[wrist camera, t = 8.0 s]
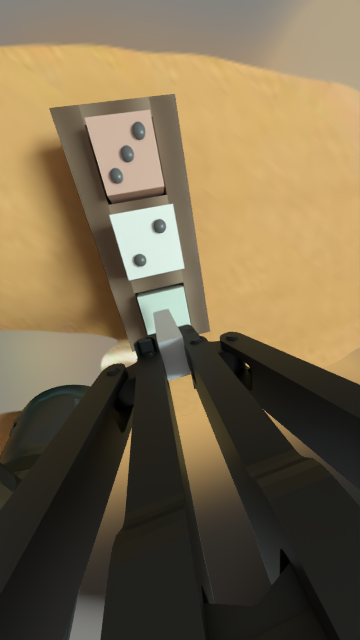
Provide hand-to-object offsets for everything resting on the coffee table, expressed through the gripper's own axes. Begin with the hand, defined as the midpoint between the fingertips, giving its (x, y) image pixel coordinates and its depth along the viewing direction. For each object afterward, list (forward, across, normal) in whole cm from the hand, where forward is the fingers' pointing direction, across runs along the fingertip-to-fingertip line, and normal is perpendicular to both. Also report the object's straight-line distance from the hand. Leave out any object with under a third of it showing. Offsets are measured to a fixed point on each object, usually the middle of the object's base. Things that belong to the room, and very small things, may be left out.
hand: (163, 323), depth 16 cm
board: (+8, +1, +7) cm, 11 cm away
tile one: (+8, +1, 0) cm, 8 cm away
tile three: (+8, +1, +14) cm, 16 cm away
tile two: (+5, +1, +7) cm, 9 cm away
